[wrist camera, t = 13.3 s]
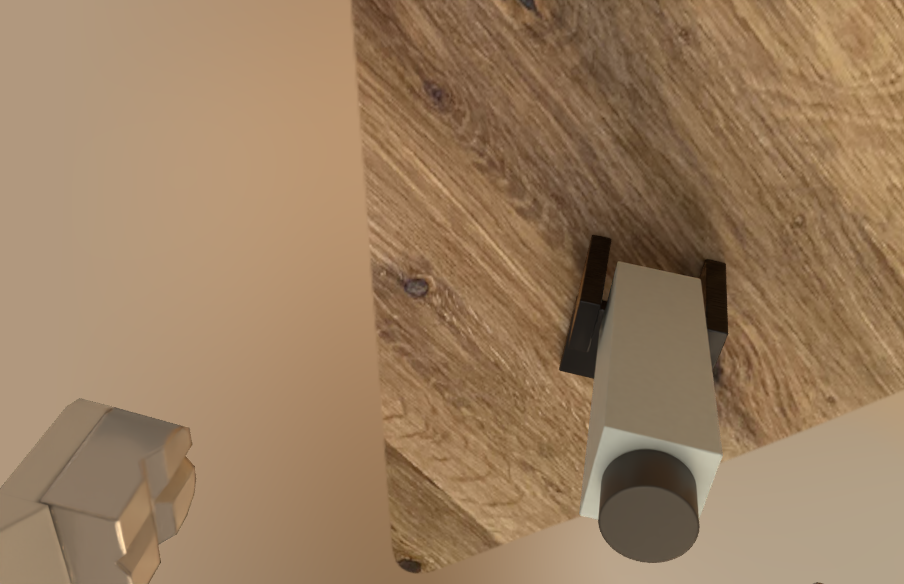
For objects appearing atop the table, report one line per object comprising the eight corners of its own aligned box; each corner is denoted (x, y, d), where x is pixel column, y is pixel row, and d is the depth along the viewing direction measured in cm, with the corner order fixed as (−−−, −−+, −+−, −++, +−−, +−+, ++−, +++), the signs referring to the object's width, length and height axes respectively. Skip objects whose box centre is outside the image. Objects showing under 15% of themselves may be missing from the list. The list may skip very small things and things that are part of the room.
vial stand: (592, 234, 43) (579, 300, 39) (726, 263, 43) (728, 333, 38) (560, 361, 49) (546, 431, 45) (678, 389, 48) (675, 463, 44)
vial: (600, 462, 27) (574, 555, 29) (728, 493, 26) (693, 586, 28) (617, 260, 41) (599, 331, 43) (701, 278, 40) (678, 349, 42)
